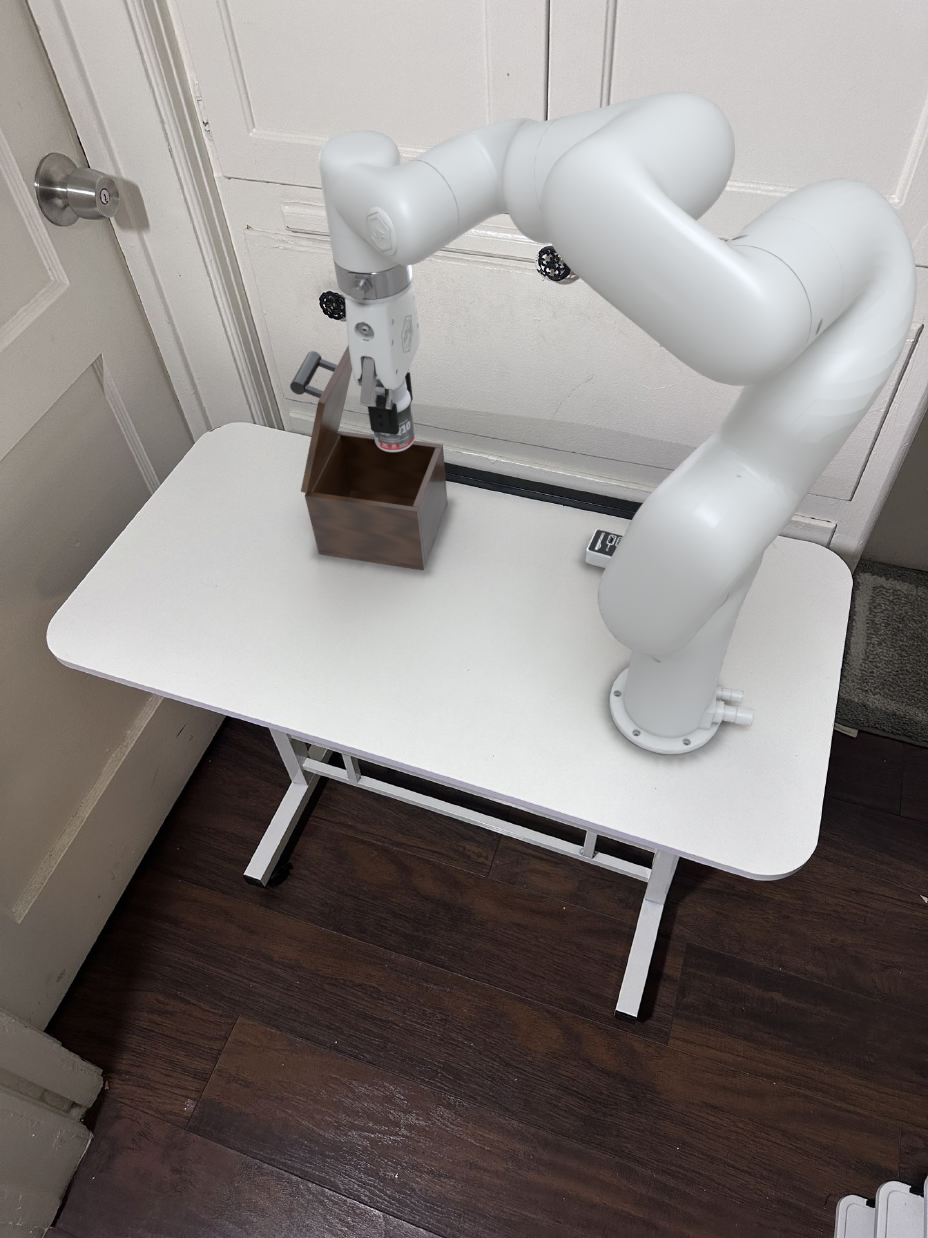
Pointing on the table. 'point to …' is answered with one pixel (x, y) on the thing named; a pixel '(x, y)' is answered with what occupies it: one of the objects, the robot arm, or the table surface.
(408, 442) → the pill bottle
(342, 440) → the chest
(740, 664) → the table surface
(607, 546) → the multiport hub
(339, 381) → the chest lid
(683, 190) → the robot arm
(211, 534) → the table surface
